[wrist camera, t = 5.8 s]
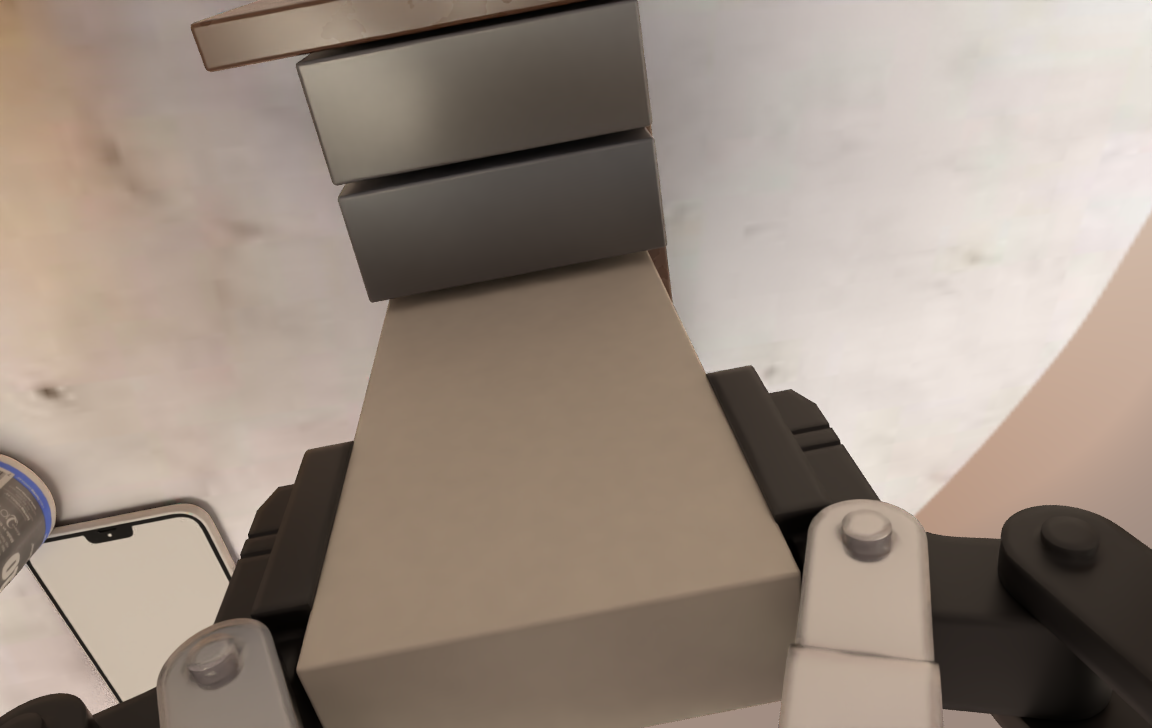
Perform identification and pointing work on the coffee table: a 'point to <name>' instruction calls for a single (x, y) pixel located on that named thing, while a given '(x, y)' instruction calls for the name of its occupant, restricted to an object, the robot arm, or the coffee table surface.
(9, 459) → the pill bottle
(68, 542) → the smartphone
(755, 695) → the beige box
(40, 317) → the coffee table surface
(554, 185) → the brown book rack
